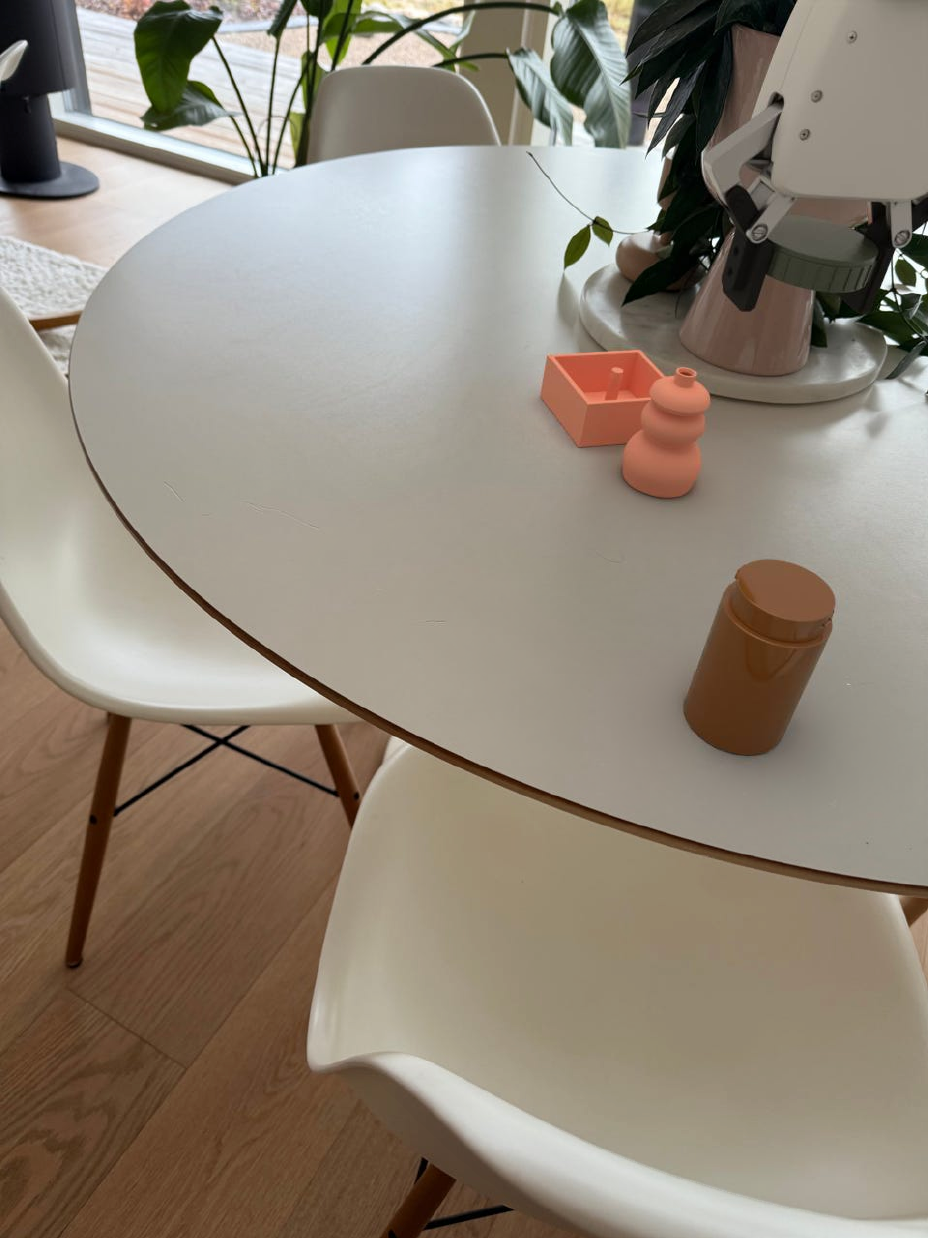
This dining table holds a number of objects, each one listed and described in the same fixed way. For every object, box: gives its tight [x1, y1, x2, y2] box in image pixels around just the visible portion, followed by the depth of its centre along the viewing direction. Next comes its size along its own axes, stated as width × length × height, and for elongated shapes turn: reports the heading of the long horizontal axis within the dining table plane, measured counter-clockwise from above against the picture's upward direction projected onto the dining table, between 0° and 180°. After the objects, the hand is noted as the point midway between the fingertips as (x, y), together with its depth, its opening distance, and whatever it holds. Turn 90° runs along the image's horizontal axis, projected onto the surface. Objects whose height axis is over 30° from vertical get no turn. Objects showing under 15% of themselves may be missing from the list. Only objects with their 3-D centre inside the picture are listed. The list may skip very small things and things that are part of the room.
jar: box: [683, 558, 836, 756], centre depth 61 cm, size 6×6×11 cm
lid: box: [766, 214, 878, 294], centre depth 58 cm, size 7×7×2 cm
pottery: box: [539, 349, 711, 499], centre depth 86 cm, size 18×10×10 cm, turn 19°
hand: (795, 300), depth 60 cm, fingers closed on lid, 7 cm apart
